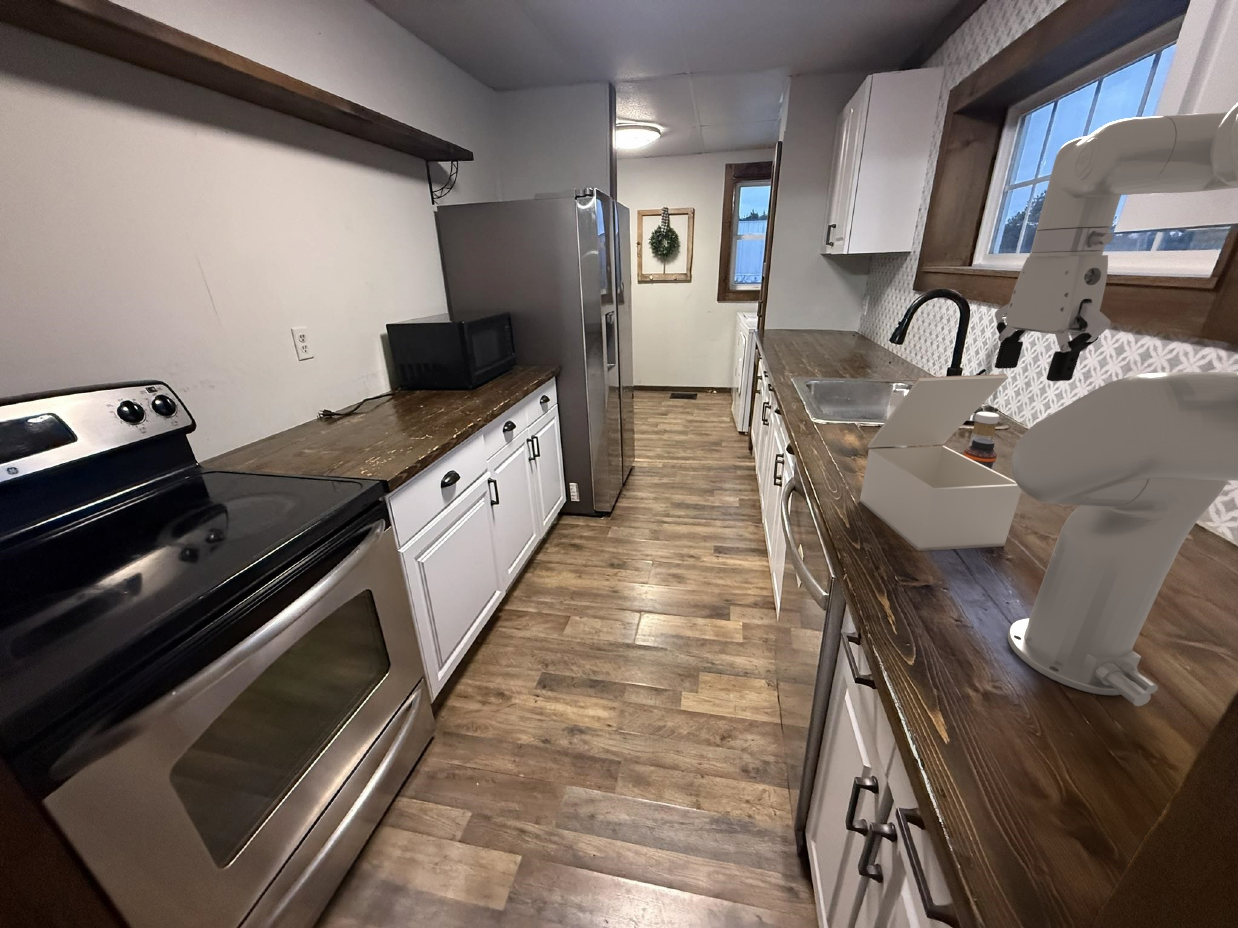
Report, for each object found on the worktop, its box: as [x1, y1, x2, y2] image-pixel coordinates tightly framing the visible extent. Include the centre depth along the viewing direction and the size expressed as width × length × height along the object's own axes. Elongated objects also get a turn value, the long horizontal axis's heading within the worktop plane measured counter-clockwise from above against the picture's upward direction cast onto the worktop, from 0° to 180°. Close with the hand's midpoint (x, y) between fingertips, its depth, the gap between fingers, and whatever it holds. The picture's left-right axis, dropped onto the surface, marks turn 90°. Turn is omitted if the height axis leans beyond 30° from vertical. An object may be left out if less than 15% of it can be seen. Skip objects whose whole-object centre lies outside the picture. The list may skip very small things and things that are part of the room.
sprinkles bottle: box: [967, 411, 1000, 447], centre depth 120 cm, size 5×5×13 cm
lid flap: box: [867, 373, 1009, 449], centre depth 94 cm, size 20×16×1 cm
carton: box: [859, 445, 1023, 552], centre depth 95 cm, size 20×16×12 cm
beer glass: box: [887, 388, 910, 448], centre depth 135 cm, size 7×7×15 cm
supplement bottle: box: [962, 438, 998, 470], centre depth 109 cm, size 6×6×11 cm
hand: (1030, 373), depth 72 cm, fingers open, 8 cm apart
